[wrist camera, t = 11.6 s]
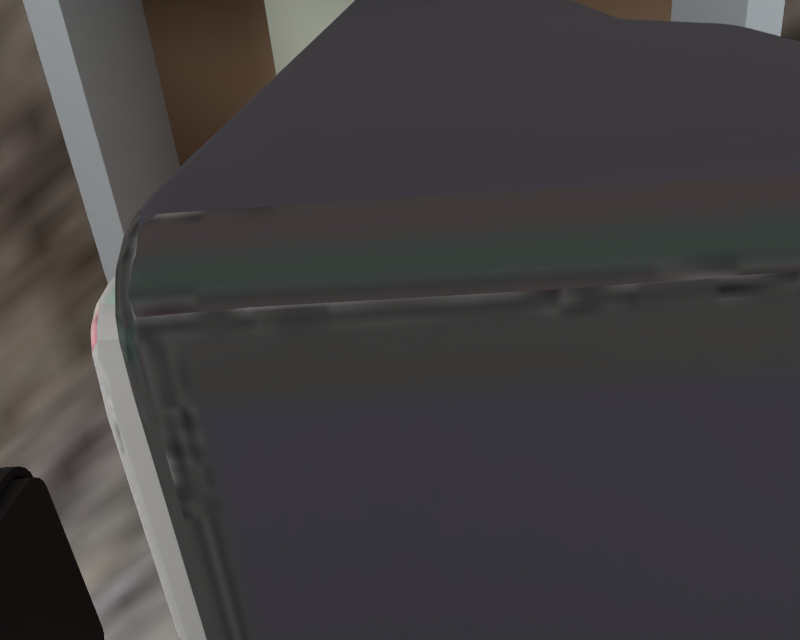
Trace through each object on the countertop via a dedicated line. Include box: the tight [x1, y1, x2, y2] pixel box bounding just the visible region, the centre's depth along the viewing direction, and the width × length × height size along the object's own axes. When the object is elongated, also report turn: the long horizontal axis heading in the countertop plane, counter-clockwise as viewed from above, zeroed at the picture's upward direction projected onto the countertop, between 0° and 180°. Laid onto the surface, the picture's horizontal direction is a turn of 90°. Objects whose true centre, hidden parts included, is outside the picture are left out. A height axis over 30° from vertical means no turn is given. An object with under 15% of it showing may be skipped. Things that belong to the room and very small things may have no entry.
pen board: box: [141, 0, 672, 167], centre depth 19 cm, size 18×13×1 cm
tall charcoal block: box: [91, 0, 800, 640], centre depth 11 cm, size 11×4×15 cm, turn 5°
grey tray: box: [23, 0, 785, 284], centre depth 17 cm, size 18×13×4 cm
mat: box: [264, 0, 355, 75], centre depth 18 cm, size 13×6×1 cm, turn 5°
